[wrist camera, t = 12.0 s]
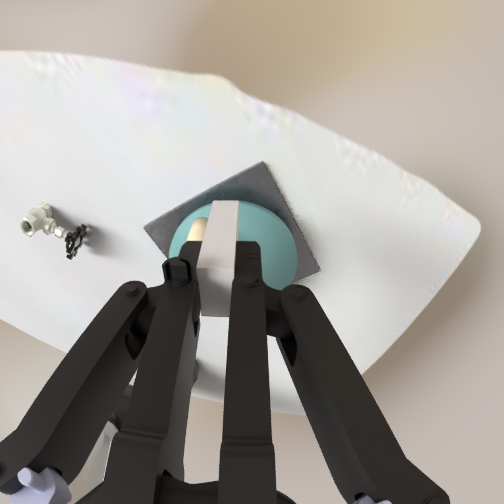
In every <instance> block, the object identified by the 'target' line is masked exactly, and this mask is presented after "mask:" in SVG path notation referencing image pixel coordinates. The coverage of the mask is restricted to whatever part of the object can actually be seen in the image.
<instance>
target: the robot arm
mask: <svg viewBox="0 0 504 504" xmlns="http://www.w3.org/2000/svg"><path fill="white" fill-rule="evenodd" d="M238 220H239V201H213V203H212V207H211V210H210V214H209V218H208V222H207V226H206V230H205V234H204V238H203V241H186V242H185V243H184V244H183V245H182V246H181V249H180V252H179V255H178V256H177V257H172V258H169V259H167V260H166V261H164V263H163V264H162V268H163V274H164V279H165V282H164V284H162V285H160V286H156V287H151V288H147V287H146V285H145V284H144V283H143V282H140V281H129V282H127V283H124V284H123V285H122V286H120V287H119V288H118V290H117V291H116V292H115V293H114V294H113V296H112V297H111V298H110V299H109V301H108V302H107V303H106V304H105V305H104V307H103V308H102V309H101V310H100V312H99V313H98V314H97V315H96V317H95V318H94V319H93V321H92V322H91V323H90V324H89V326H88V327H87V328H86V330H85V331H84V332H83V333H82V335H81V336H80V337H79V339H78V340H77V341H76V343H75V344H74V345H73V347H72V348H71V349H70V351H69V352H68V353H67V355H66V356H65V358H64V359H63V360H62V362H61V363H60V364H59V366H58V367H57V369H56V370H55V372H54V373H53V374H52V376H51V377H50V379H49V380H48V381H47V383H46V384H45V386H44V387H43V389H42V390H41V392H40V393H39V395H38V396H37V398H36V399H35V401H34V402H33V404H32V406H31V407H30V409H29V410H28V411H27V413H26V415H25V416H24V418H23V419H22V421H21V423H20V424H19V426H18V427H17V429H16V430H15V431H13V432H12V433H11V434H10V435H9V436H7V437H6V438H5V439H4V440H2V441H1V442H0V492H2V493H4V494H6V496H7V497H8V499H9V500H10V502H11V503H12V504H296V503H295V502H294V501H293V500H292V499H290V498H289V497H288V496H286V495H284V494H283V493H281V492H280V491H277V490H276V471H275V452H274V446H273V443H272V434H271V433H272V431H271V409H270V388H269V368H268V348H267V335H270V336H273V337H276V341H277V344H278V346H279V349H280V351H281V354H282V356H283V358H284V361H285V363H286V366H287V368H288V371H289V373H290V376H291V378H292V381H293V383H294V385H295V388H296V390H297V393H298V395H299V398H300V400H301V403H302V405H303V407H304V410H305V412H306V415H307V417H308V420H309V422H310V424H311V426H312V429H313V432H314V434H315V437H316V439H317V441H318V444H319V446H320V448H321V451H322V453H323V456H324V458H325V461H326V463H327V465H328V468H329V470H330V472H331V475H332V477H333V480H334V482H335V484H336V486H337V488H338V490H339V492H340V493H341V495H342V496H343V498H344V499H345V501H346V502H347V504H450V500H449V496H448V495H447V493H446V492H445V491H444V490H443V489H442V488H440V487H439V486H438V485H437V484H435V483H434V482H433V481H432V480H431V479H430V478H429V477H427V476H426V475H425V474H424V473H423V472H422V471H420V470H419V469H418V468H417V467H416V466H415V465H413V464H412V463H411V462H410V461H409V460H408V459H407V458H406V457H405V455H404V453H403V451H402V449H401V447H400V445H399V444H398V442H397V440H396V438H395V437H394V434H393V432H392V431H391V429H390V427H389V425H388V423H387V421H386V419H385V418H384V416H383V414H382V412H381V410H380V408H379V407H378V405H377V403H376V401H375V399H374V398H373V396H372V394H371V392H370V390H369V389H368V387H367V385H366V383H365V381H364V380H363V378H362V376H361V374H360V373H359V371H358V369H357V367H356V366H355V364H354V362H353V360H352V359H351V357H350V355H349V353H348V352H347V350H346V348H345V347H344V345H343V343H342V341H341V340H340V338H339V336H338V334H337V333H336V331H335V329H334V328H333V326H332V324H331V323H330V321H329V319H328V318H327V316H326V314H325V312H324V311H323V309H322V307H321V306H320V304H319V302H318V301H317V299H316V297H315V296H314V294H313V292H312V291H311V290H310V289H309V288H307V287H305V286H303V285H298V284H292V285H289V286H286V287H285V288H283V290H282V291H281V290H277V289H274V288H271V287H269V286H268V285H267V284H265V282H264V281H263V278H262V263H261V247H260V246H259V244H258V243H257V242H256V241H238ZM200 310H201V316H213V317H229V331H228V346H227V362H226V378H225V396H224V415H223V434H222V443H221V449H220V464H219V481H213V482H206V483H199V484H189V483H186V482H184V466H183V456H184V445H185V437H186V428H187V419H188V410H189V403H190V395H191V389H192V386H193V384H194V383H195V381H196V380H197V377H198V370H199V368H198V364H197V363H196V361H195V358H196V351H197V344H198V337H199V330H200V318H199V316H200ZM137 368H138V370H137ZM136 370H137V374H136V378H135V382H134V385H133V386H132V385H130V384H129V382H130V381H131V379H132V377H133V375H134V374H135V372H136ZM111 441H112V443H111V448H110V452H109V457H108V462H107V467H106V472H105V477H104V471H105V466H106V460H107V455H108V449H109V445H110V442H111ZM103 477H104V481H103Z"/></svg>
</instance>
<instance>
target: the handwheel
mask: <svg viewBox="0 0 504 504" xmlns="http://www.w3.org/2000/svg"><path fill="white" fill-rule="evenodd" d="M225 201H239V220H238V241H256V242H257V243H258V244H259V246H260V247H261V263H262V278H263V281H264V282H265V284H267V285H268V286H269V287H271V288H274V289H277V290H281V291H282V290H283V288H285V287H286V286H289V285H290V284H291V283H292V281H293V279H294V277H295V274H296V270H297V265H298V256H297V250H296V246H295V242H294V239H293V236H292V234H291V232H290V230H289V229H288V227H287V226H286V224H285V223H284V222H283V221H282V220H281V219H280V218H279V217H278V216H277V215H275V214H274V213H273V212H271V211H270V210H268V209H266V208H264V207H262V206H260V205H257V204H254V203H251V202H246V201H240V200H225ZM211 207H212V203H210V204H207V205H204V206H202V207H200V208H198V209H196V210H195V211H194V212H192V213H191V214H189V215H188V216H187V217H186V218H185V219H184V220H183V222H182V223H181V224H180V225H179V227H178V229H177V231H176V232H175V235H174V237H173V240H172V243H171V245H170V250H169V258H172V257H177V256H178V255H179V252H180V249H181V246H182V245H183V244H184V243H185V242H186V241H203V238H204V234H205V230H206V226H207V222H208V218H209V214H210V210H211Z"/></svg>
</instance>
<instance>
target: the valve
mask: <svg viewBox="0 0 504 504" xmlns="http://www.w3.org/2000/svg"><path fill="white" fill-rule="evenodd" d="M51 216H53V213H52V209H51V206H50V205H48V204H47V203H45V202H42V203H41V204H40V205H39V206H38V207H34V208H32V209H31V210H30V211H29V212H28V214H27V216H26V217H25V218H24V219H23V220H22V221H21V222H20V225H21V229H22V231H23V233H24V234H26V235H27V236H29V237H31V236H32V235H33V234H34V233H35V232H36V231H38V230H41V229H42V230H43V232H44V233H46V234H47V235H49V234H51V233H52V234H53V233H55V236H57V237H58V238H60V239H61V238H62V237H63V238H65V242H66V249H67V250H66V252H67V253H68V254H70V255H68V254H67V258H68V259H70V260H71V259H72V258H73V256H74V257H75V256H76V255H77V250H78V248H80V247H81V246H82V244H83V242H82V240H83V238H84V237H85V236H86V233H87V232H85V231H86V229H87V226H86V225H84V224H82V225H81V227H80V226H78V227H77V229H76V231H78V232H73V233H71V232H68V233H66V232H65V229H64V228H62V227H60V226H59V227H57V225H56V224H55V223H56V221H55V220H54V219H53V218H50V217H51ZM69 245H71V247H70V248H69Z"/></svg>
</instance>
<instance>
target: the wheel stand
mask: <svg viewBox="0 0 504 504" xmlns="http://www.w3.org/2000/svg"><path fill="white" fill-rule="evenodd" d="M225 200H240V201H246V202H251V203H254V204H257V205H260V206H262V207H264V208H266V209H268V210H270V211H271V212H273V213H274V214H275V215H277V216H278V217H279V218H280V219H281V220H282V221H283V222H284V223H285V224H286V226H287V227H288V229H289V230H290V232H291V234H292V236H293V239H294V242H295V246H296V250H297V256H298V265H297V270H296V274H295V277H294V279H293V281H292V283H293V282H295V281H297V280H300V279H302V278H305V277H307V276H309V275H312V274H314V273H316V272H319V269H318V267H317V265H316V262H315V260H314V258H313V256H312V254H311V252H310V250H309V248H308V246H307V244H306V243H305V241H304V239H303V237H302V235H301V233H300V231H299V229H298V227H297V225H296V223H295V221H294V219H293V217H292V215H291V213H290V211H289V210H288V208H287V206H286V204H285V202H284V200H283V198H282V196H281V195H280V193H279V191H278V189H277V187H276V185H275V183H274V182H273V180H272V178H271V176H270V174H269V172H268V171H267V169H266V167H265V165H264V163H263V162H260V163H258V164H256V165H254V166H252V167H250V168H248V169H246V170H244V171H242V172H240V173H238V174H236V175H234V176H232V177H230V178H228V179H226V180H225V181H223V182H221V183H219V184H217V185H215V186H213V187H211V188H210V189H208V190H206V191H204V192H202V193H200V194H199V195H197V196H195V197H193V198H192V199H190V200H188V201H186V202H184V203H183V204H181V205H179V206H177V207H176V208H174V209H172V210H170V211H169V212H167V213H165V214H164V215H162V216H160V217H159V218H157V219H155V220H154V221H152V222H150V223H149V224H147V225H145V226H144V230H145V231H146V232H147V233H148V235H149V236H150V237H151V239H152V240H153V241H154V242H155V244H156V245H157V246H158V247H159V249H160V250H161V251H162V253H163V254H164V255H165V256H166V258H167V259H169V250H170V245H171V243H172V240H173V237H174V235H175V232H176V231H177V229H178V227H179V225H180V224H181V223H182V222H183V220H184V219H185V218H186V217H187V216H188V215H189V214H191V213H192V212H194V211H195V210H196V209H198V208H200V207H202V206H204V205H207V204H210V203H213V201H225Z"/></svg>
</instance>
